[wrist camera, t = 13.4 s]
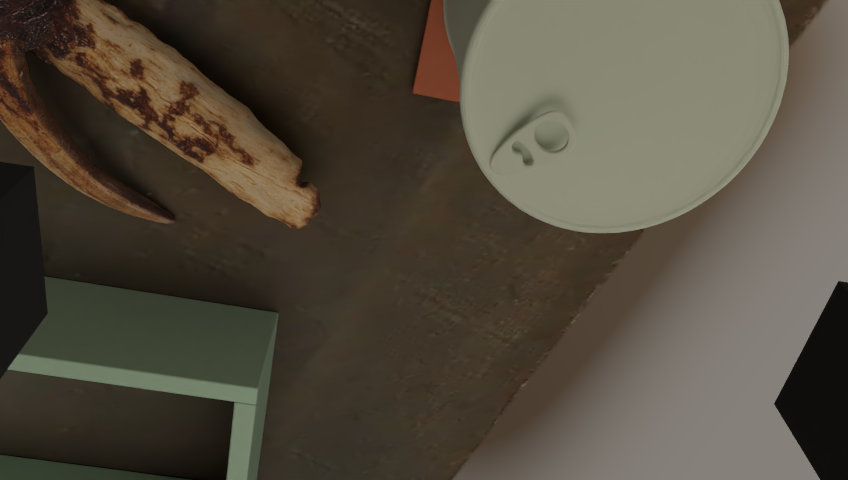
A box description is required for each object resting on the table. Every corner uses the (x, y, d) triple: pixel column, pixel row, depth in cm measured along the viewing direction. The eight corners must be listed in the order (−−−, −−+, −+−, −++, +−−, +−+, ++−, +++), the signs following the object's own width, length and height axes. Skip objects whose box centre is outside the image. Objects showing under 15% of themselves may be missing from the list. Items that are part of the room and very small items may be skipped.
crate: (-109, 251, 37) (-195, 323, 32) (279, 312, 39) (258, 388, 34) (-75, 456, 43) (-142, 543, 38) (254, 499, 46) (233, 587, 40)
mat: (463, -162, 28) (463, -161, 28) (710, -104, 30) (715, -103, 29) (412, 90, 33) (412, 93, 33) (627, 131, 34) (630, 135, 34)
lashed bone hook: (-101, 43, 32) (245, 280, 38) (-180, 77, 28) (221, 336, 34) (-7, -139, 29) (361, 152, 34) (-82, -130, 25) (349, 199, 30)
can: (398, -27, 30) (391, 53, 20) (602, -175, 28) (716, -171, 17) (516, 148, 34) (562, 294, 24) (704, 32, 32) (848, 137, 21)
